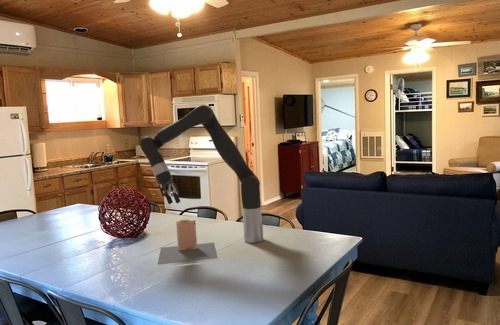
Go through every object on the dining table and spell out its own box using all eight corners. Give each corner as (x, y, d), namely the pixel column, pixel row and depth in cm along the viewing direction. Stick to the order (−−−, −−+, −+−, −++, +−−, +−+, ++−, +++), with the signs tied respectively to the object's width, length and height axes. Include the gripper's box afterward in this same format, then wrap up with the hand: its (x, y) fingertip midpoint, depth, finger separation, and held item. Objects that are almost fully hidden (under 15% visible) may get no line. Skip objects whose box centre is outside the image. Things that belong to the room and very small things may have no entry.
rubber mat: (214, 244, 200) (213, 242, 200) (217, 260, 176) (217, 258, 176) (161, 249, 196) (160, 247, 196) (157, 266, 172) (157, 264, 172)
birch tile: (197, 247, 194) (195, 218, 192) (197, 248, 192) (195, 219, 190) (178, 249, 192) (176, 220, 191) (178, 250, 190) (176, 221, 189)
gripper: (161, 169, 191) (174, 200, 189) (174, 170, 205) (187, 199, 202) (148, 176, 193) (161, 207, 190) (162, 177, 206) (174, 205, 204)
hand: (174, 203), depth 196 cm, fingers open, 8 cm apart
